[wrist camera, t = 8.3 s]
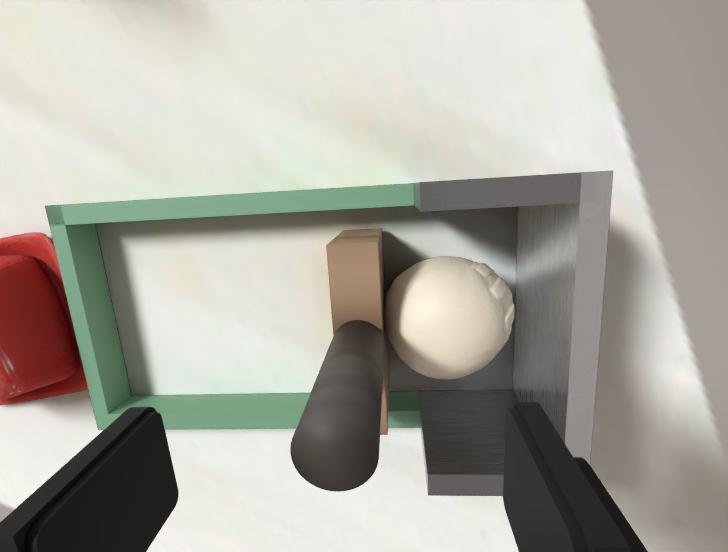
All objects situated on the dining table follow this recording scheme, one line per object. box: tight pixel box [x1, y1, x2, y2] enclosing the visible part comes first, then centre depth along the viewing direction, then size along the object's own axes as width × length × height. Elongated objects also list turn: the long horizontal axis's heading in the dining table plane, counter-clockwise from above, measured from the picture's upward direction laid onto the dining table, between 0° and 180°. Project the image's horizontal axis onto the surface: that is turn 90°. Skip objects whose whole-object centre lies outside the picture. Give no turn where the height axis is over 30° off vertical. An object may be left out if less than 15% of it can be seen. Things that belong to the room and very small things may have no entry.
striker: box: [291, 228, 389, 491], centre depth 18 cm, size 10×3×14 cm, turn 3°
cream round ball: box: [384, 256, 514, 380], centre depth 22 cm, size 7×7×7 cm
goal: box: [413, 171, 613, 496], centre depth 21 cm, size 15×8×8 cm, turn 3°
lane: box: [45, 183, 421, 430], centre depth 25 cm, size 15×22×2 cm
